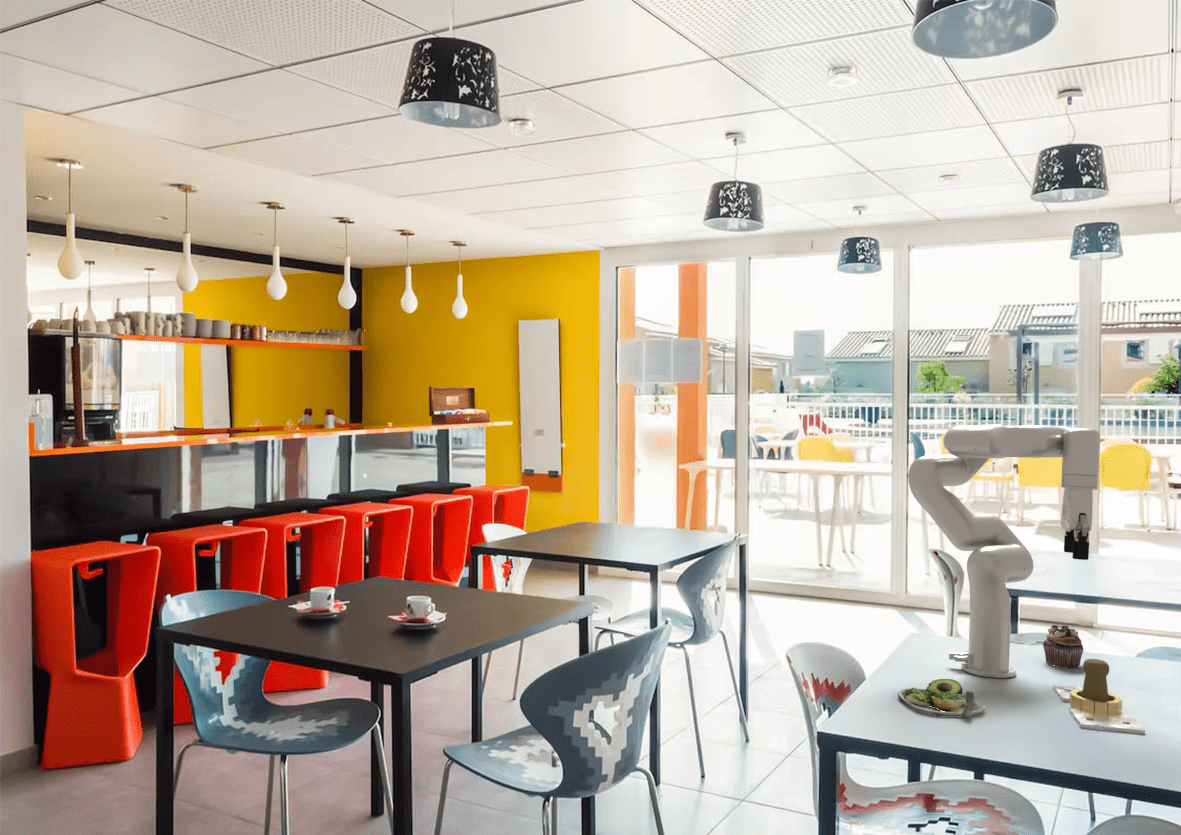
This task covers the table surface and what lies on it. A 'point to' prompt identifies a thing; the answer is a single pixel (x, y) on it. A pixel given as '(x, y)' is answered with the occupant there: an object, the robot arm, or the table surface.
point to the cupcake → (1063, 647)
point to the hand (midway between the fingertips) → (1075, 555)
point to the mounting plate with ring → (1098, 711)
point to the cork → (1095, 680)
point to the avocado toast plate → (942, 699)
